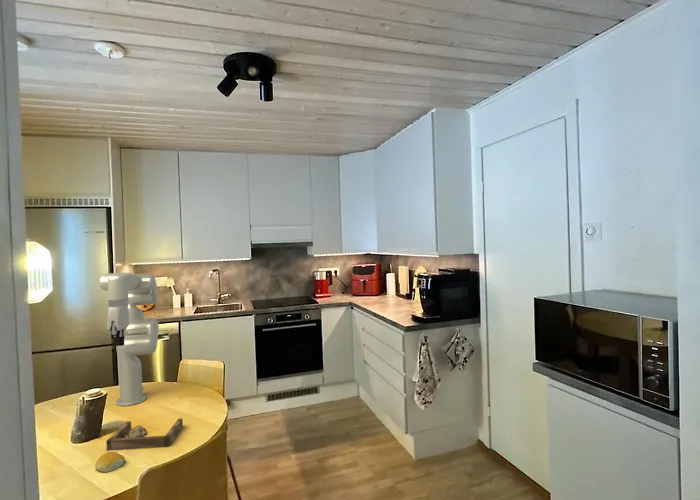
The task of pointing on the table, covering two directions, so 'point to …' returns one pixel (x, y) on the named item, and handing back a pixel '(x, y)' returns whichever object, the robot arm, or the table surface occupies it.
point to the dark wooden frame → (141, 438)
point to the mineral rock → (136, 432)
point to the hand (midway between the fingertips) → (119, 345)
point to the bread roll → (109, 462)
